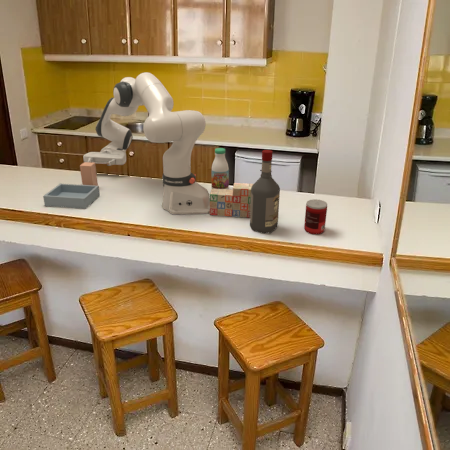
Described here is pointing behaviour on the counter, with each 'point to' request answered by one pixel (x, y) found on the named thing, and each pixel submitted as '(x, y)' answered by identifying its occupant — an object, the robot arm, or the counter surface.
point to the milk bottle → (220, 170)
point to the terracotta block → (88, 174)
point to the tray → (71, 196)
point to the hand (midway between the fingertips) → (98, 163)
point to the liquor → (265, 198)
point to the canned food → (315, 216)
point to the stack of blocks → (231, 201)
